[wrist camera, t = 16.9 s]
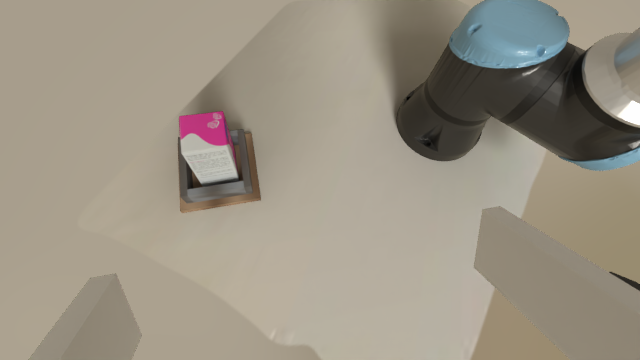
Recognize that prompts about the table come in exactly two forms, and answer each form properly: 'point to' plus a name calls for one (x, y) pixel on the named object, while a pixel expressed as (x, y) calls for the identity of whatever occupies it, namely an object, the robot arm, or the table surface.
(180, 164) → the socket
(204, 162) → the supplement box
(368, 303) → the table surface
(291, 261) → the table surface
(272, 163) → the table surface
